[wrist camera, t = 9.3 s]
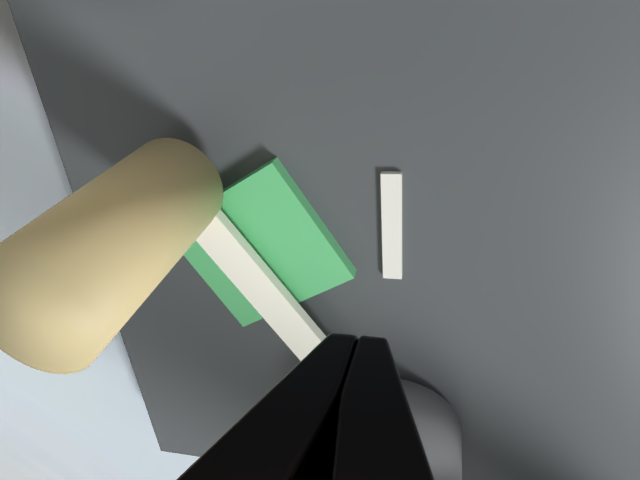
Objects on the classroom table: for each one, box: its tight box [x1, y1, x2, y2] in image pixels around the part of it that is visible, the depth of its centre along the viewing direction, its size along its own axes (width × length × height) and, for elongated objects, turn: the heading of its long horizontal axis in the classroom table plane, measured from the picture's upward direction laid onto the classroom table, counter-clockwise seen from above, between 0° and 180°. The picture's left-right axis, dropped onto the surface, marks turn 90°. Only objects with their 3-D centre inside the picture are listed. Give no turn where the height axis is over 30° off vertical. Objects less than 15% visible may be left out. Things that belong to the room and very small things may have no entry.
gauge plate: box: [7, 0, 640, 480], centre depth 17 cm, size 24×22×2 cm
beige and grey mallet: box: [0, 138, 462, 480], centre depth 15 cm, size 16×5×7 cm, turn 37°
